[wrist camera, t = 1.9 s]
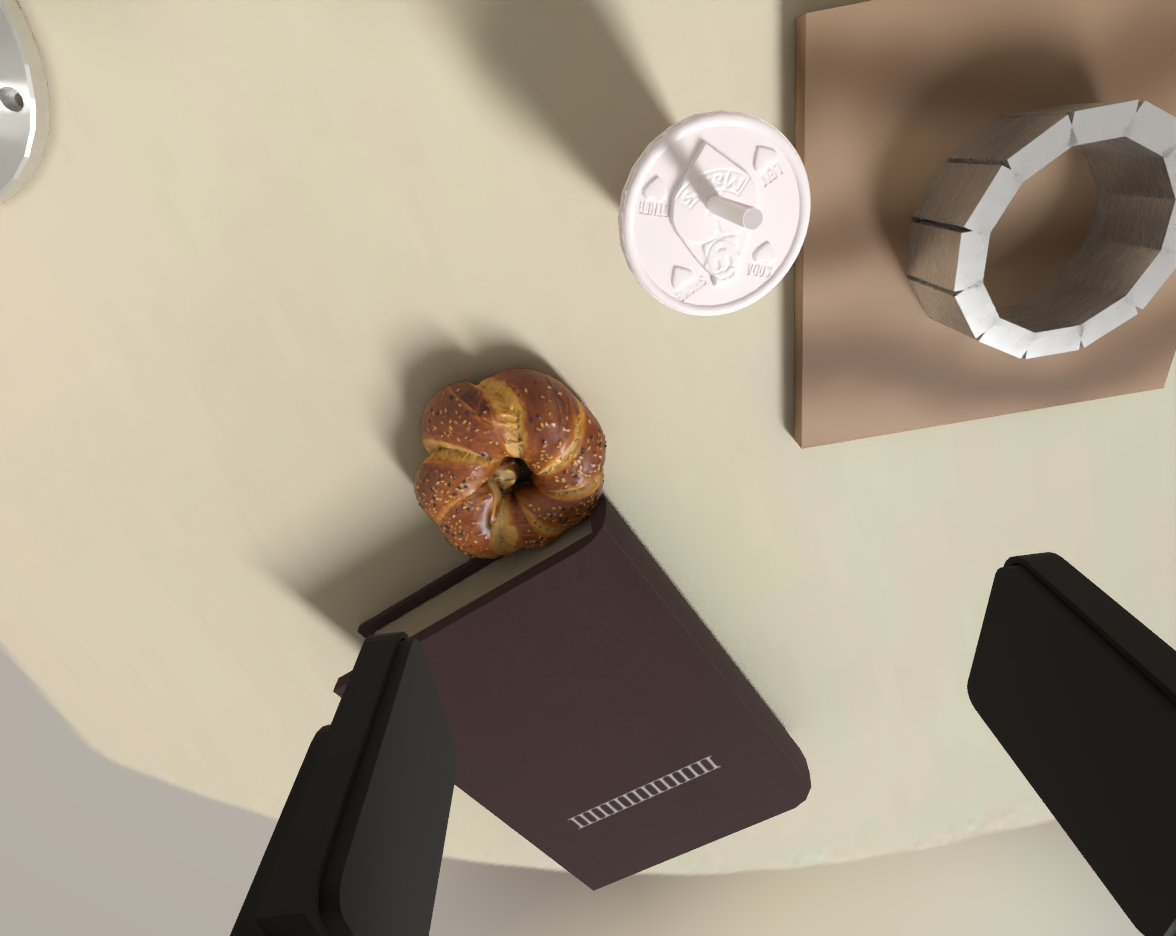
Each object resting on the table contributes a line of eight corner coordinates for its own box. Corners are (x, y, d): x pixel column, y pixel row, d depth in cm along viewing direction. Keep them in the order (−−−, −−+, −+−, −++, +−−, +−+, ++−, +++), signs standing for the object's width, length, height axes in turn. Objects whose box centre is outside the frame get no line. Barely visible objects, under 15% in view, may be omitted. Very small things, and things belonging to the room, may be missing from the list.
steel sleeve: (918, 131, 26) (974, 129, 23) (1147, 89, 26) (1240, 80, 22) (899, 347, 31) (943, 373, 28) (1092, 313, 31) (1161, 335, 27)
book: (792, 726, 48) (821, 797, 42) (589, 816, 52) (593, 890, 47) (602, 476, 36) (610, 532, 31) (361, 620, 40) (333, 691, 35)
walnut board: (795, 18, 25) (805, 13, 24) (1283, -77, 24) (1316, -86, 23) (794, 439, 35) (801, 448, 34) (1144, 380, 34) (1163, 387, 33)
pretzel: (555, 564, 38) (555, 604, 35) (389, 507, 36) (372, 544, 32) (642, 407, 33) (651, 436, 30) (455, 327, 31) (443, 350, 27)
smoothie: (725, 101, 26) (872, 65, 14) (744, 248, 29) (879, 323, 17) (585, 143, 27) (611, 143, 15) (618, 283, 30) (661, 381, 18)
